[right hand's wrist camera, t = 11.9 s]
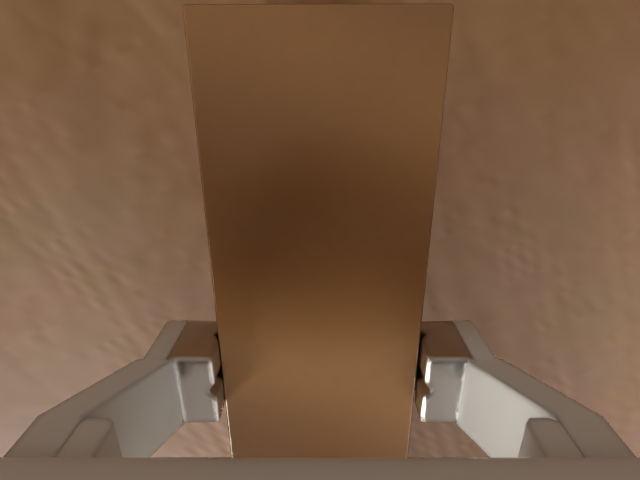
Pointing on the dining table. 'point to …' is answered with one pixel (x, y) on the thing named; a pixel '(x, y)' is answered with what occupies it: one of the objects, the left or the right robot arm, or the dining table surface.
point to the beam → (318, 214)
